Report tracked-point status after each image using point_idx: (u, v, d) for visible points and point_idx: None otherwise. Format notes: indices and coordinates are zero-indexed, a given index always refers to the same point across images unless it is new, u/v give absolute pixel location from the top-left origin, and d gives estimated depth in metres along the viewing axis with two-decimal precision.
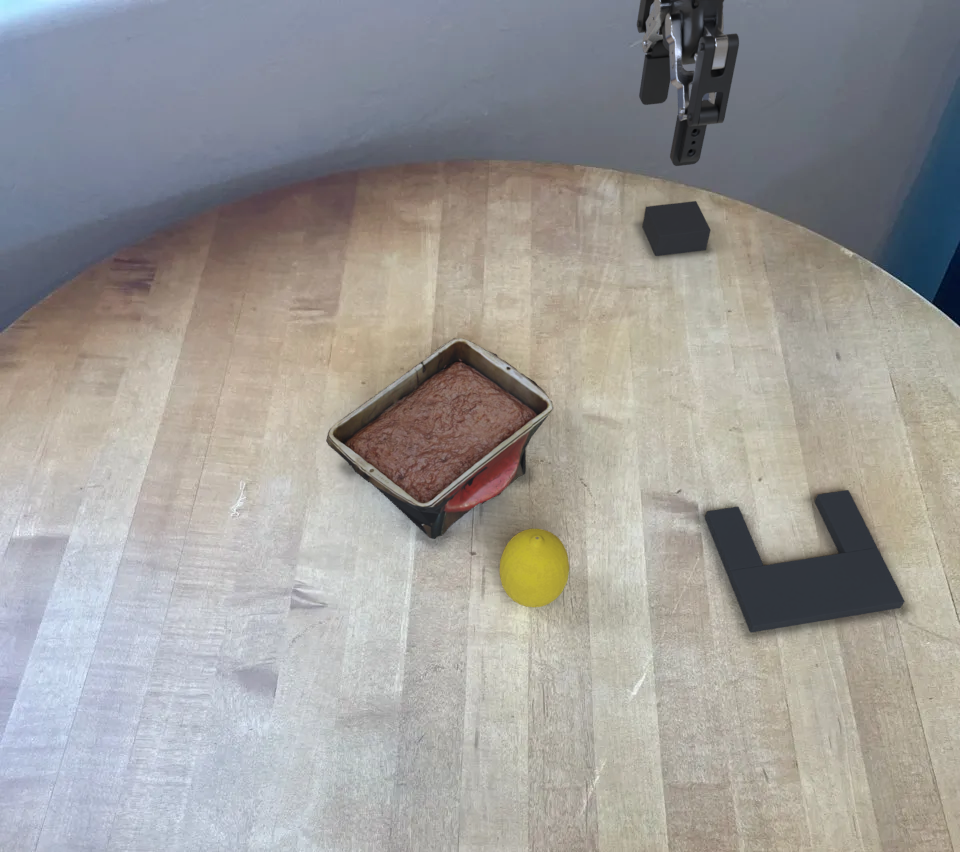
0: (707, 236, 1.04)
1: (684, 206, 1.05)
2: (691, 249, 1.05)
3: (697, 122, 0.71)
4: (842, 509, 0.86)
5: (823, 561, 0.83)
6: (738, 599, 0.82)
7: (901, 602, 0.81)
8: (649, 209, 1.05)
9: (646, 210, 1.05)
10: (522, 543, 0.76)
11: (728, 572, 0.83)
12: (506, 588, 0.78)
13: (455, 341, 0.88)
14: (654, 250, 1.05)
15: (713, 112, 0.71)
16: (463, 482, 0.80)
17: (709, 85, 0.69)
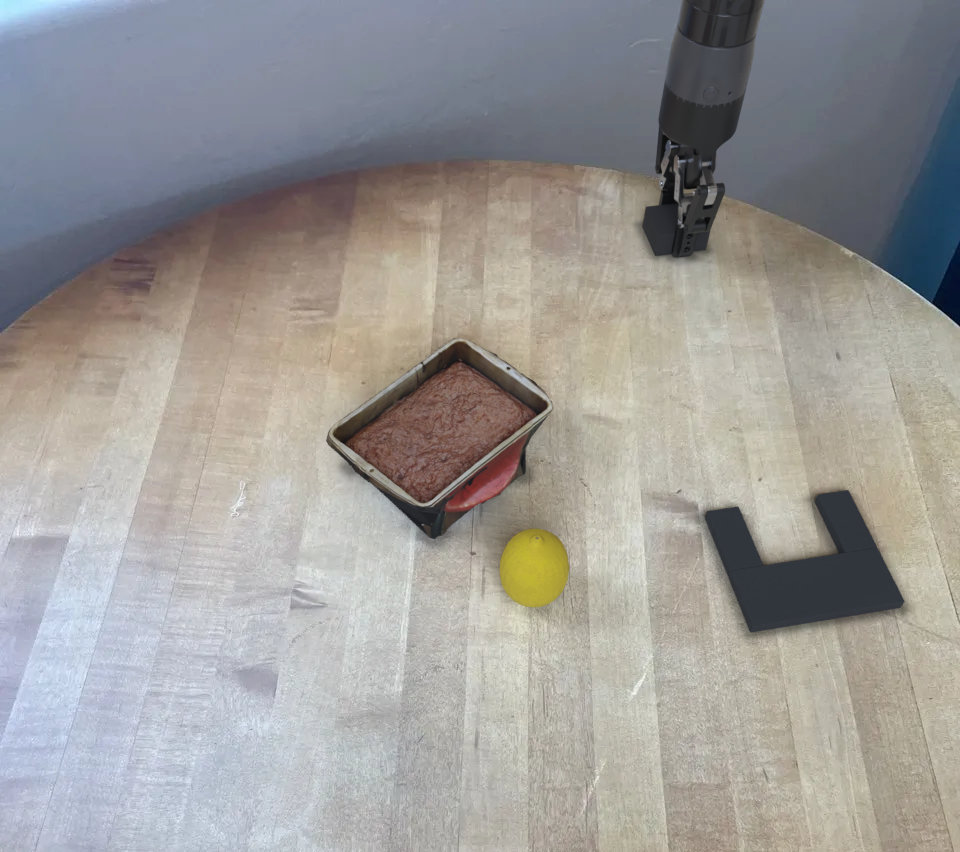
0: (707, 236, 1.04)
1: None
2: None
3: (691, 231, 0.99)
4: (842, 509, 0.86)
5: (823, 561, 0.83)
6: (738, 599, 0.82)
7: (901, 602, 0.81)
8: (649, 209, 1.05)
9: (646, 210, 1.05)
10: (522, 543, 0.76)
11: (728, 572, 0.83)
12: (506, 588, 0.78)
13: (455, 341, 0.88)
14: (654, 250, 1.05)
15: (702, 226, 0.99)
16: (463, 482, 0.80)
17: (701, 214, 0.97)
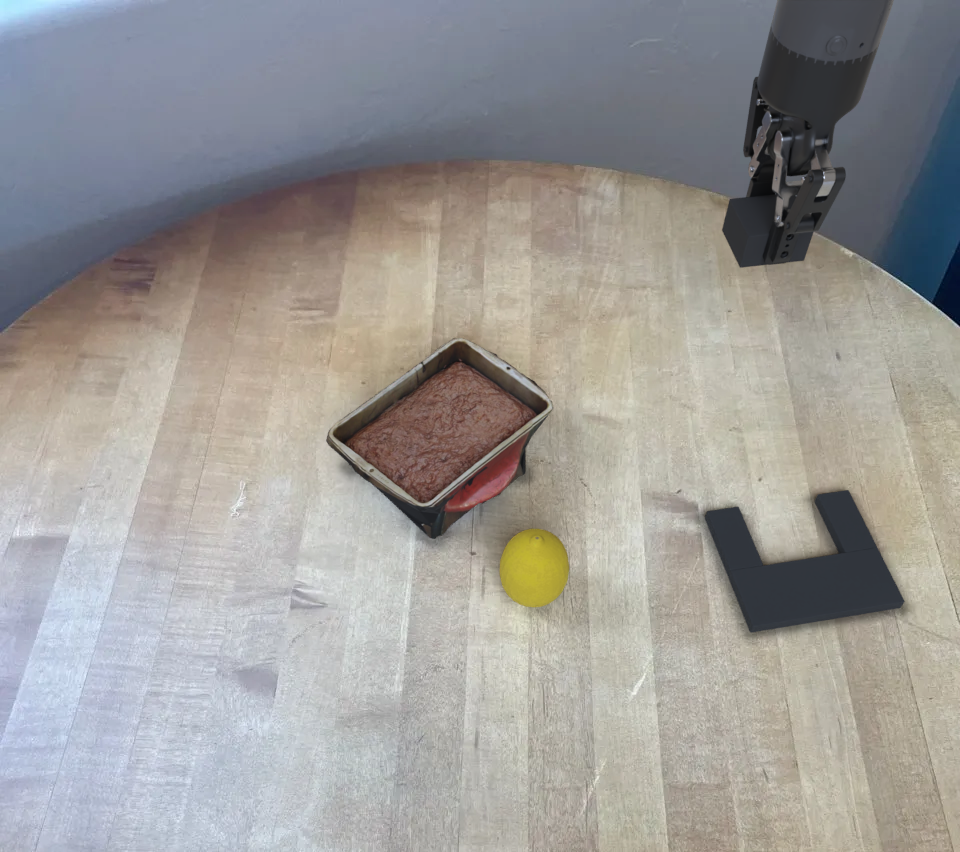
0: (809, 237, 0.81)
1: None
2: None
3: (794, 231, 0.76)
4: (842, 509, 0.86)
5: (823, 561, 0.83)
6: (738, 599, 0.82)
7: (901, 602, 0.81)
8: (734, 202, 0.82)
9: (730, 203, 0.82)
10: (522, 543, 0.76)
11: (728, 572, 0.83)
12: (506, 588, 0.78)
13: (455, 341, 0.88)
14: (740, 255, 0.82)
15: (809, 224, 0.76)
16: (463, 482, 0.80)
17: (810, 208, 0.74)
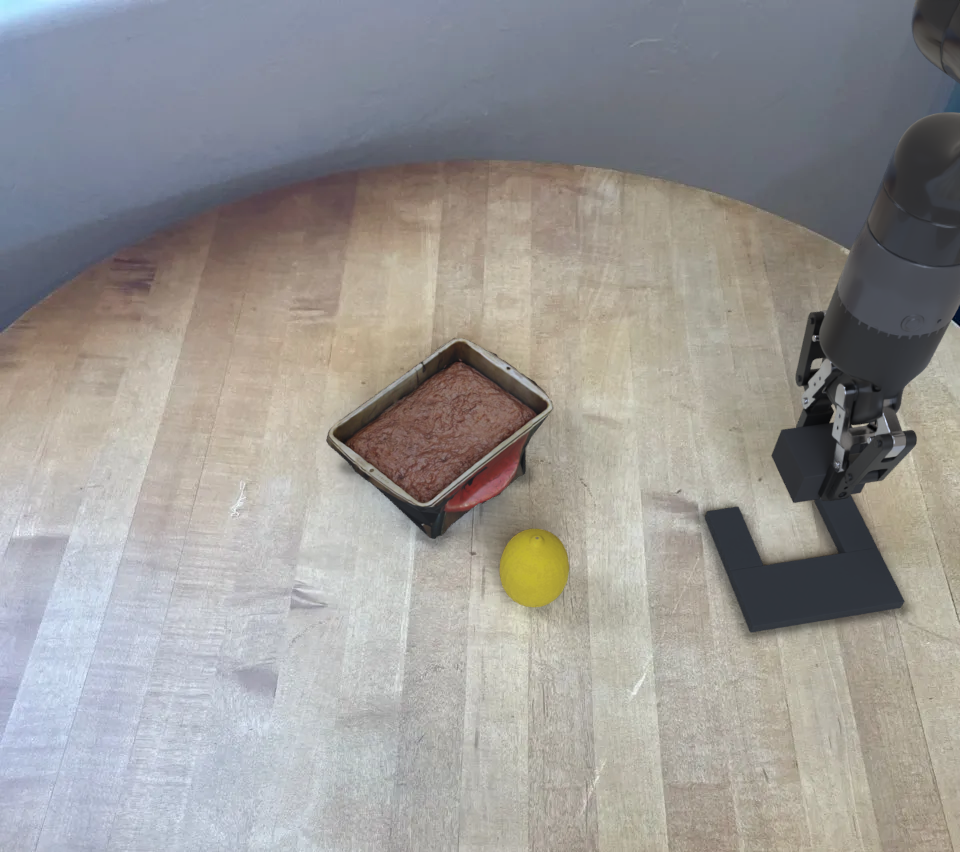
0: None
1: None
2: None
3: (857, 483, 0.71)
4: (842, 509, 0.86)
5: (823, 561, 0.83)
6: (738, 599, 0.82)
7: (901, 602, 0.81)
8: (786, 434, 0.77)
9: (782, 435, 0.77)
10: (522, 543, 0.76)
11: (728, 572, 0.83)
12: (506, 588, 0.78)
13: (455, 341, 0.88)
14: (794, 491, 0.76)
15: (873, 476, 0.71)
16: (463, 482, 0.80)
17: (876, 466, 0.69)
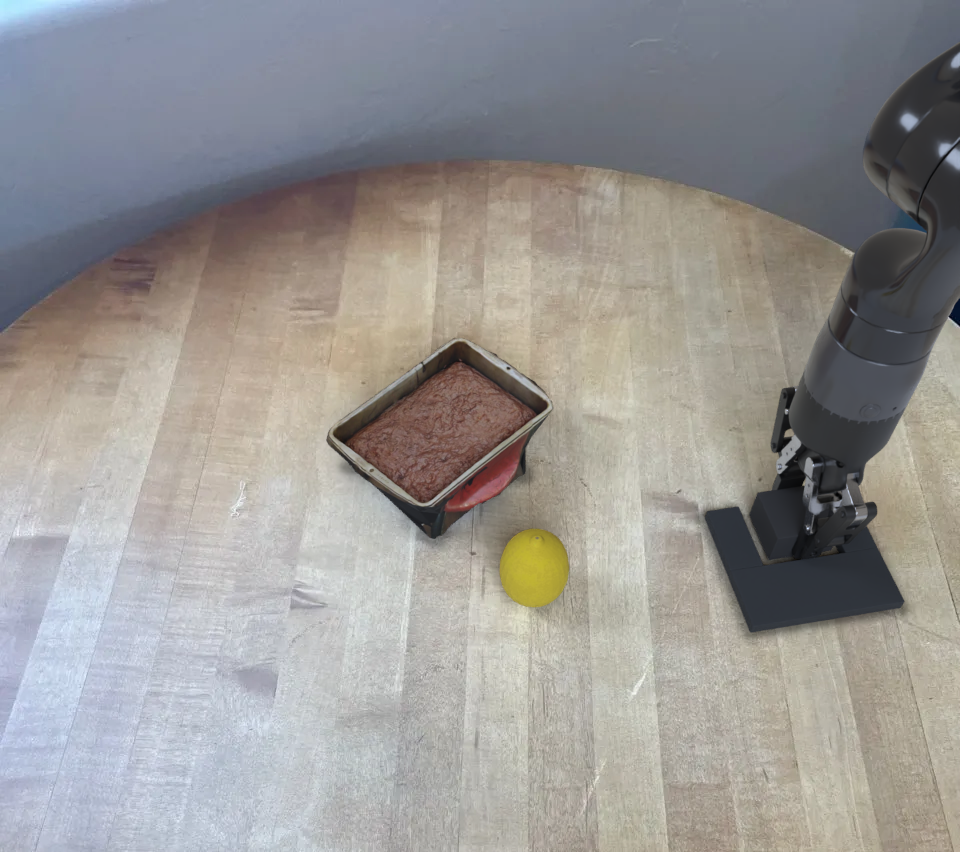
0: None
1: None
2: None
3: (825, 546, 0.77)
4: None
5: (823, 561, 0.83)
6: (738, 599, 0.82)
7: (901, 602, 0.81)
8: (762, 496, 0.83)
9: (758, 497, 0.83)
10: (522, 543, 0.76)
11: (728, 572, 0.83)
12: (506, 588, 0.78)
13: (455, 341, 0.88)
14: (769, 549, 0.83)
15: (840, 540, 0.77)
16: (463, 482, 0.80)
17: (842, 533, 0.75)
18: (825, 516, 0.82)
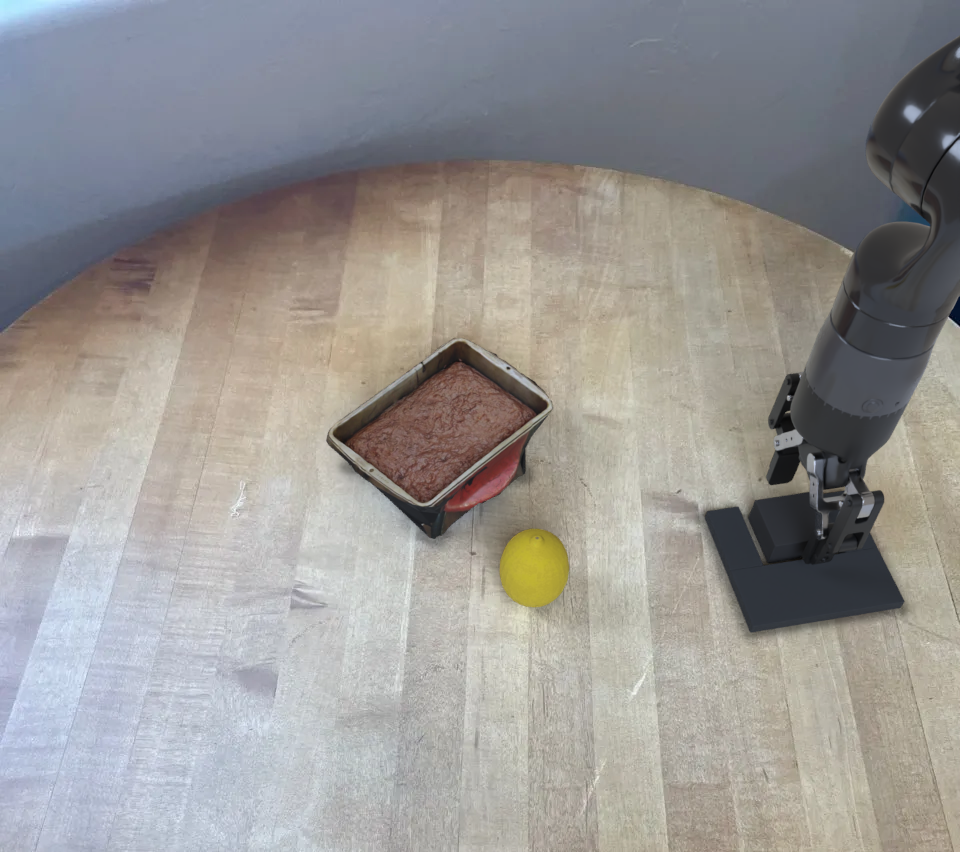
0: None
1: (802, 499, 0.84)
2: None
3: (837, 551, 0.76)
4: None
5: None
6: (738, 599, 0.82)
7: (901, 602, 0.81)
8: (759, 504, 0.84)
9: (755, 505, 0.84)
10: (522, 543, 0.76)
11: (728, 572, 0.83)
12: (506, 588, 0.78)
13: (455, 341, 0.88)
14: (766, 556, 0.84)
15: (852, 543, 0.75)
16: (463, 482, 0.80)
17: (852, 529, 0.73)
18: None
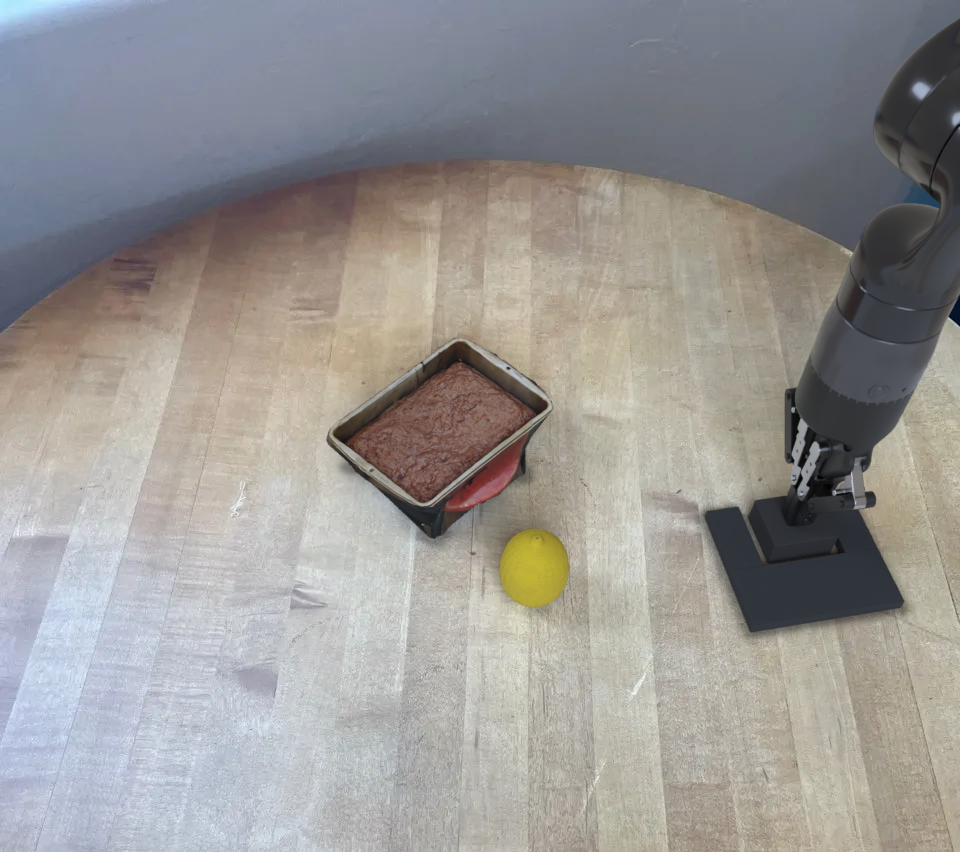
0: (833, 542, 0.83)
1: None
2: (812, 554, 0.84)
3: None
4: None
5: (823, 561, 0.83)
6: (738, 599, 0.82)
7: (901, 602, 0.81)
8: (759, 504, 0.84)
9: (755, 505, 0.84)
10: (522, 543, 0.76)
11: (728, 572, 0.83)
12: (506, 588, 0.78)
13: (455, 341, 0.88)
14: (766, 556, 0.84)
15: None
16: (463, 482, 0.80)
17: None
18: (822, 524, 0.83)
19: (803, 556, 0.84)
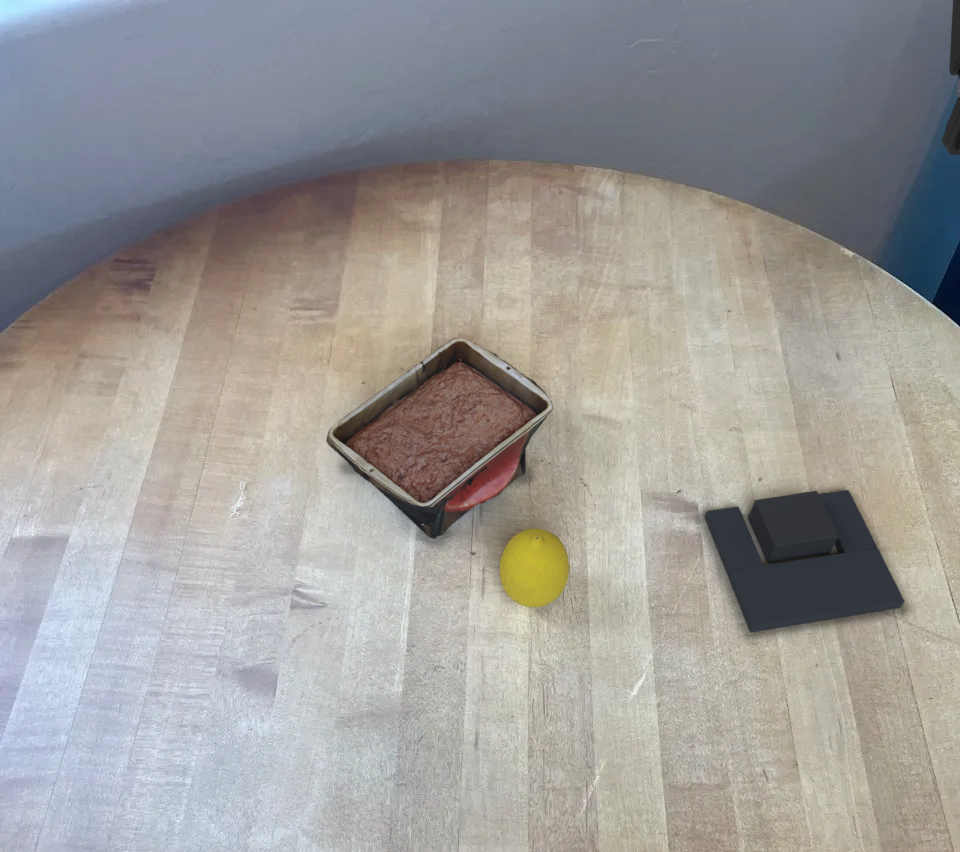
0: (833, 541, 0.83)
1: (802, 499, 0.84)
2: (812, 554, 0.84)
3: None
4: (842, 509, 0.86)
5: (823, 561, 0.83)
6: (738, 599, 0.82)
7: (901, 602, 0.81)
8: (759, 504, 0.84)
9: (755, 505, 0.84)
10: (522, 543, 0.76)
11: (728, 572, 0.83)
12: (506, 588, 0.78)
13: (455, 341, 0.88)
14: (766, 556, 0.84)
15: None
16: (463, 482, 0.80)
17: None
18: (822, 523, 0.83)
19: (803, 556, 0.84)
